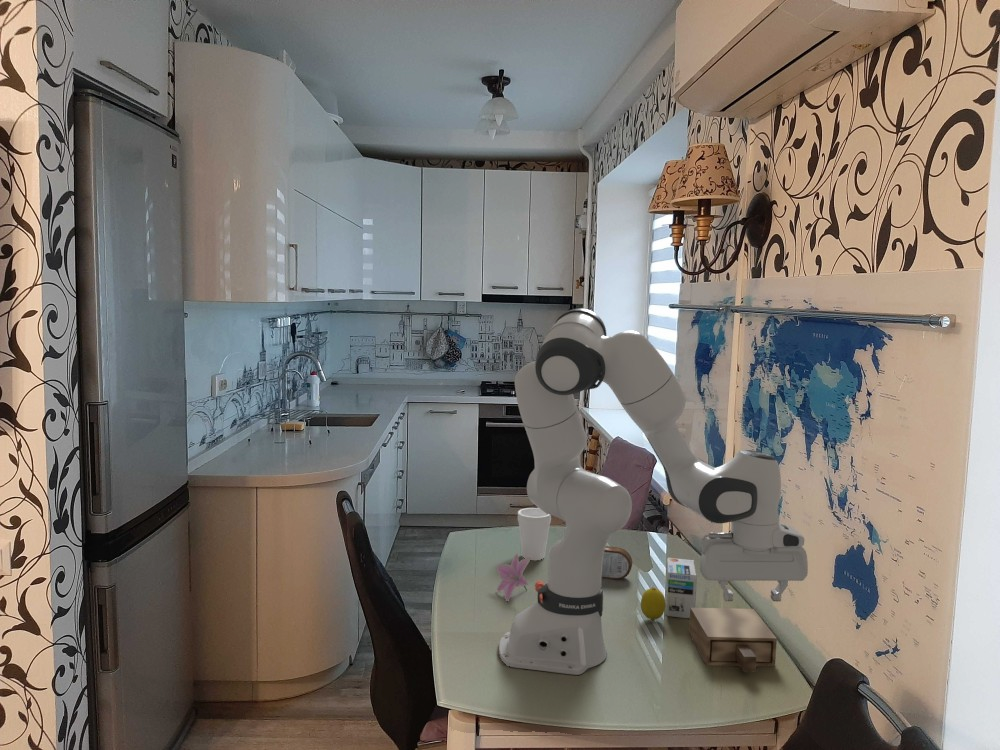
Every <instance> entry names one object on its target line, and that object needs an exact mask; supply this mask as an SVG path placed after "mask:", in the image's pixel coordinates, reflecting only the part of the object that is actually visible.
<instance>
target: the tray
mask: <svg viewBox="0 0 1000 750" xmlns="http://www.w3.org/2000/svg"><path fill="white" fill-rule="evenodd" d="M710 659H711V661H737V662H738V664H739V665H740V666H739V667H740V669H741V670H742V672H756V667H757V666H756V662H770V659H771V642H770V641H744V640H711V642H710Z"/></svg>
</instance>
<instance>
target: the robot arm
mask: <svg viewBox="0 0 1000 750" xmlns="http://www.w3.org/2000/svg"><path fill="white" fill-rule="evenodd" d="M543 339H544V340H543V341H542V344H541V346H540V348H539V349H538V351H537V353H536V356H535V357H536V358H535V360H533V361H531V362H529V363H527V364H525V365H524V366H522V367H521V368H519V370H518V371H517V373H516V374H515V378H514V388H515V396H516V401H517V406H518V410H519V414H520V417H521V420H522V423H523V426H524V429H525V431H526V432H525V433H526V435H527V439H528V441H529V444H530V448H531V451H532V454H533V459H534V468H533V470H532V471H531V472H530V474H529V476H528V479H527V483H526V493H527V497H528V499H529V500H530V501H529V502H531V503H532V504H533V505H535V506H536V508H540V509H541V510H542V511H544V512H545V513H547V514H550V515H551V517H555V518H556V519H557V518H558V519H560V520H563V521H564V522H565V531H564V535H563V538H561V539H559V540H557V541H556V542H554V544H552V546H551V547H550V549H549V551H548V566H547V567H548V569H547V583H544V581H542V580H536V582H535V584H534V587H535V588H534V589H535V591H536V592H537V601H535V602H534V603H532V604H531V605H529V606H528V607H526V608H524V609H523V610H521V611H520V612H518V613H517V614H516V615H515V617H514V618H513V621H512V623H511V628H510V631H507V632H505V633H504V634H503V635H502V636H501V637H500V640H499V644H498V655H499V654H500V656H499V658H500V657H501V659H502V660H501V659H500V660H501V662H502V661H503V662H504V663H505V664H506V665H505V664H504V663H503V662H502V663H503V664H504V665H505V666H506V667H509V666H510V668H516V669H526V670H534V671H540V672H541V671H542V672H551V673H557V674H565V675H575V676H577V675H581V674H583V673H585V672H586V671H587V670H588V669H590V668H593V667H596V666H598V665H600V664H601V663H603V662H604V661H605V660H606V658H607V655H608V653H607V649H606V645H605V642H604V636H603V628H602V616H603V611H604V591H603V587H602V579H603V578H602V563H603V555H604V551H605V547H606V546H608V543H609V541H610V539H611V537H612V536H613V535H614V534H616V533H617V532H619V531H621V530H622V529H623V528H624V527H625V526H626V524H627V523H628V521H629V519H630V517H631V514H632V509H633V508H632V507H633V502H632V498H631V495H630V492H629V491H628V490H627V489H626V487H624V486H622V485H621V484H620V483H619V482H617V481H615V480H613V479H612V478H610V477H608V476H604V475H601V474H598V473H597V474H596V473H594V472H590V471H587V470H585V469H584V468H583V467H582V466H581V463H580V460H579V456H580V455H581V454H582V452H583V451H584V449H585V448H586V445H587V442H588V437H587V434H586V430H585V428H584V424H583V421H582V418H581V415H580V411H579V409H578V405H577V403H576V400H575V397H574V395H575V394H578V393H581V392H582V391H583V392H584V391H587V390H594V389H597V388H599V387H600V386H601V384H602V383H605V384H606V385H607V386H608V387H609V388H610V390H611V391H612V392H613V394H614V395H615V397H616V399H617V400H618V402H619V404H620V405H621V407H622V408H623V410H624V411H625V412H626V414H627V415H628V416H629V417H630V419H631V420H632V421H633V423H635V425H636V426H637V427H638V428H639V429H640V430H641V431H642V433H643V434H644V436H645V438H646V439H647V441H648V443H649V444H650V447H651V448H652V449H653V452H654V453H655V455H656V457H657V459H658V460H659V462H660V463H661V466H662V468H663V470H664V476H665V481H666V487H667V491H668V494H669V496H670V497H671V499H672V500H674V502H675V503H677V504H678V505H681V506H683V507H685V508H687V509H689V510H691V511H692V512H694V513H695V514H696V515H698V516H700V517H701V518H703V519H705V520H707V522H708V521H709V522H711V523H713V524H728V523H730V532H709V533H708V534H706V535H704V536H702V537H701V539H700V540H701V541H700V552H701V556H700V563H699V570H700V571H699V572H700V573H701V575H702V577H704V579H706V581H717V582H718V584H719V586H720V588H721V589H722V599H723V601H725V602H733V600H734V598H733V597H734V593H733V591H732V590H731V589H727V587H726V586H728V585H729V581H742V582H743V581H747V582H749V581H753V582H754V581H759V582H760V581H761V582H762V581H763V582H765V581H767V582H771V581H772V582H775V581H777V583H778V584H777V585H776V587H775V589H771V590H770V599H771V600H772V602H782V594H783V593H784V592H785V590H786V588H787V587H788V586H789V582H791V581H792V582H797V581H798V582H801V581H805V579H806V578H807V577H808V572H809V570H808V569H809V568H808V567H809V566H808V565H809V563H808V554H807V551H806V549H805V548H804V547H803V546H804V545H805V537H804V536H803V534H801V532H800V531H798V530H797V529H795V528H794V527H793V526H791V525H789V524H788V525H787V524H786V523H781V522H780V515H779V504H780V502H781V494H782V493H781V492H782V491H781V489H782V487H781V486H782V485H781V479H782V478H781V469H780V466H779V465H780V464H779V462H778V460H777V459H776V458H775V457H774V456H772V455H770V454H767V453H764V452H760V451H758V450H752V449H743V450H738V451H737V453H736V455H735V456H733V458H731V459H730V460H728V461H727V462H726V463H723V464H722V465H720V466H717V467H714V466H712V465H711V464H708V463H707V462H706V461H705V460H702V459H701V458H700V457H697V456H696V455H695V454H694V453H693V452H692V451H691V449H690V447H689V445H688V444H687V442H686V440H685V438H684V437H683V434H682V433H681V431H680V429H679V428H678V426H677V424H676V422H677V421H678V420H679V419H680V417H681V416H682V415H683V412H684V410H685V408H686V398H685V395H684V392H683V389H682V387H681V385H680V383H679V380H678V379H677V377H676V375H675V374H674V372H673V371H672V369H671V368H670V366H669V365H668V363H667V362H666V360H665V359H664V357H663V356H662V355H661V353H660V352H659V351H658V350H657V349H656V347H655V346H654V345H653V344H652V343H651V341H650V340H649V339H647V338H646V337H645V335H643V334H642V333H640V332H638V331H635V330H625V331H621V332H619V333H616V334H614V335H613V336H612V335H611V336H607V329H606V325H605V323H604V321H603V320H602V318H601V317H600V316H599V315H598V314H597V313H596V312H594V311H593V310H590V309H586V308H573V309H570V310H568V311H566V312H564V313H563V314H561V315H560V316H559V317H558V318H557V319H556V321H555V322H554V324H553V325H552V326H551V327H550V329H549V330H548V331H547V333H546V335H545V338H543ZM505 638H507V639H505Z"/></svg>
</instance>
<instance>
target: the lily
mask: <svg viewBox="0 0 1000 750" xmlns="http://www.w3.org/2000/svg"><path fill="white" fill-rule="evenodd" d="M530 560H531V558H530V557H529V558H525V559H524V558H522V559H519V553H517V552H516V553H515V555H514V556H513V558H512V560H511V562H510V564H506V563H505V564H499V565H497V566H496V572H497V575H498V576H499V578H500V579H501V582H500V583H499V584H498V586H497V587H496V590H498V591H499V592H502V591H503V594H504V600H505V599H507V600H508V602H510V599H511V597H512V595H513V592H514V590H515V588H516V587H523V588H524V589H525V591H526V590H527V591H528V589H527V588H526V586H528V582H527V579H526V577H525V576H524V574H523V573H524V571H525V570H526V568H527V566H528V565H529V563H530ZM499 592H498V593H499Z"/></svg>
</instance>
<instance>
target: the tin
mask: <svg viewBox="0 0 1000 750" xmlns="http://www.w3.org/2000/svg"><path fill="white" fill-rule="evenodd" d="M632 567H633V558H632V557H631V555H630V553H629V552H628V551H627V550H626V549H624V548H623V547H617V546H610V545H609V546H608V545H606V547H605V551H604V555H603V563H602V578H601V579H607V580H614V581H615V580H616V581H618V580H619V581H620V580H623V579H625V578H626V577H628V576H629V574H630V573H631V570H632Z"/></svg>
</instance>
